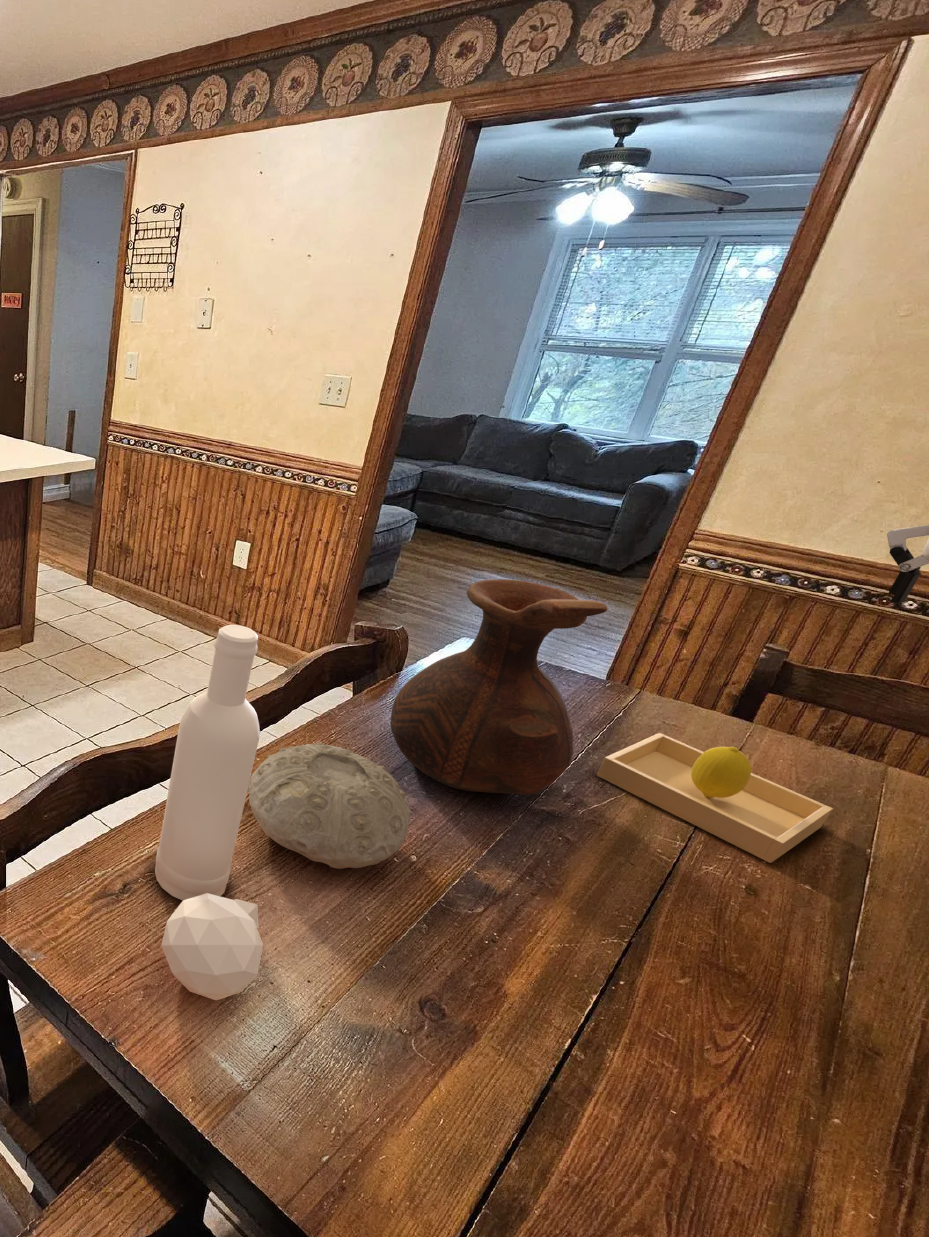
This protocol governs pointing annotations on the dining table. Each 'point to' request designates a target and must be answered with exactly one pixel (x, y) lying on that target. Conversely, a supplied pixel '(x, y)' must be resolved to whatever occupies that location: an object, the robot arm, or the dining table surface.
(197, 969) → the cream faceted rounded solid
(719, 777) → the lemon
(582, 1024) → the dining table surface
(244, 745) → the bottle
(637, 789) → the tray
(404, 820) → the decorative shell
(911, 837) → the dining table surface
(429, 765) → the jug
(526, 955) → the dining table surface
